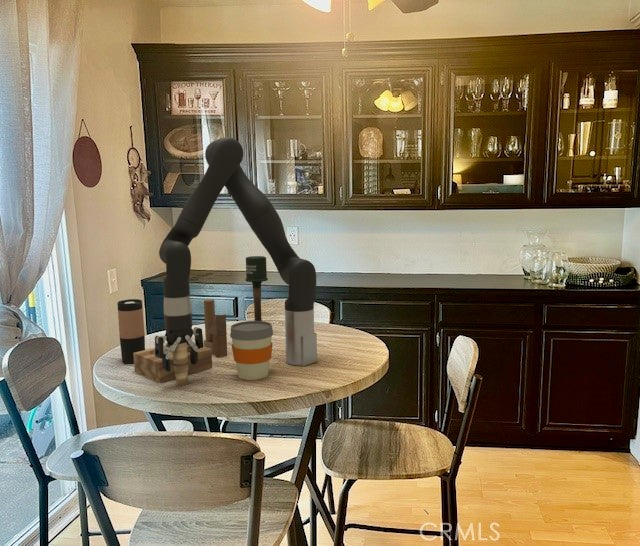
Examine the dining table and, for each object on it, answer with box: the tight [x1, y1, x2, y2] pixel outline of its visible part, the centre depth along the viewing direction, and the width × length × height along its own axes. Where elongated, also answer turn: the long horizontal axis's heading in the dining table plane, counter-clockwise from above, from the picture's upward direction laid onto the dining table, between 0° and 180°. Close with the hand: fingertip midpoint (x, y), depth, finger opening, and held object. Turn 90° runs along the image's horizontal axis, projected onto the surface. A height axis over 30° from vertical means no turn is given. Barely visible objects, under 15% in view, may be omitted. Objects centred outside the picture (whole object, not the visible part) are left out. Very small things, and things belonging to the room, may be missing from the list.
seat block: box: [133, 344, 213, 384], centre depth 158 cm, size 15×18×6 cm
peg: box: [173, 342, 189, 386], centre depth 146 cm, size 4×4×12 cm
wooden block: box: [203, 298, 228, 358], centre depth 174 cm, size 4×11×18 cm, turn 38°
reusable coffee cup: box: [229, 320, 274, 381], centre depth 152 cm, size 12×13×15 cm
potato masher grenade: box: [245, 255, 269, 321], centre depth 198 cm, size 8×9×30 cm
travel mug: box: [116, 298, 146, 365], centre depth 166 cm, size 8×8×20 cm
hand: (180, 367), depth 146 cm, fingers open, 8 cm apart
